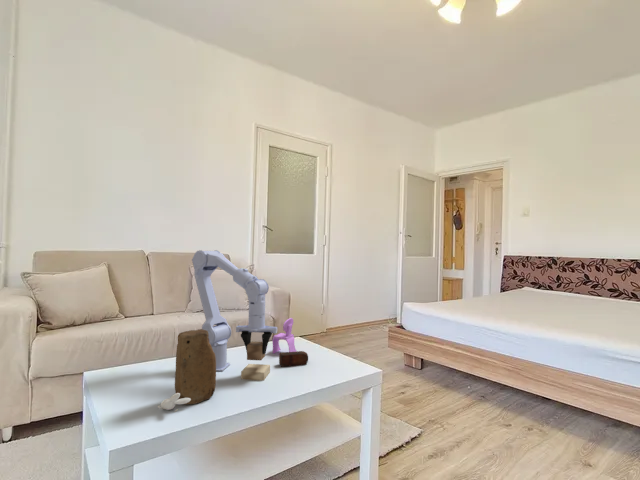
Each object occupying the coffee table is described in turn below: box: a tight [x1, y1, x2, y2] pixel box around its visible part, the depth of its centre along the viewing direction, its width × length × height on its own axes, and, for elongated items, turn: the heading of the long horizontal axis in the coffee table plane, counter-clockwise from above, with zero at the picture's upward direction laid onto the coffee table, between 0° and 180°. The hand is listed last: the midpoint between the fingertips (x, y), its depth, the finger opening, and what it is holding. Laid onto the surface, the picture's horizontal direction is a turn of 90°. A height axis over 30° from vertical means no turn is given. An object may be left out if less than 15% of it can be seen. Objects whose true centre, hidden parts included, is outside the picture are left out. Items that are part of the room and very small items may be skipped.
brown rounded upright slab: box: [174, 328, 217, 405], centre depth 103 cm, size 11×8×20 cm
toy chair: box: [272, 317, 297, 354], centre depth 150 cm, size 8×9×15 cm
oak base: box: [240, 363, 271, 381], centre depth 122 cm, size 8×8×3 cm
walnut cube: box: [246, 341, 266, 361], centre depth 122 cm, size 5×5×5 cm
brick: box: [278, 350, 309, 368], centre depth 134 cm, size 11×4×5 cm, turn 110°
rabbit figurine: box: [157, 393, 191, 413], centre depth 95 cm, size 6×4×8 cm
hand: (256, 353), depth 122 cm, fingers closed on walnut cube, 5 cm apart
